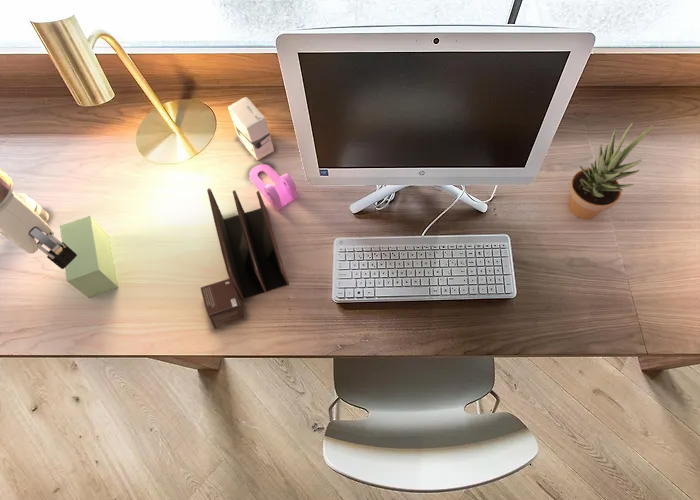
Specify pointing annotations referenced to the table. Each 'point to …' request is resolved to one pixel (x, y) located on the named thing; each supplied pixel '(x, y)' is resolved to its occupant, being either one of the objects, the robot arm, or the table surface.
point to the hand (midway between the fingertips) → (49, 247)
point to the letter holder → (249, 249)
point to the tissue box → (89, 257)
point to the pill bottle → (34, 206)
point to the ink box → (251, 128)
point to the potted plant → (601, 180)
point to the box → (222, 303)
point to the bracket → (280, 192)
